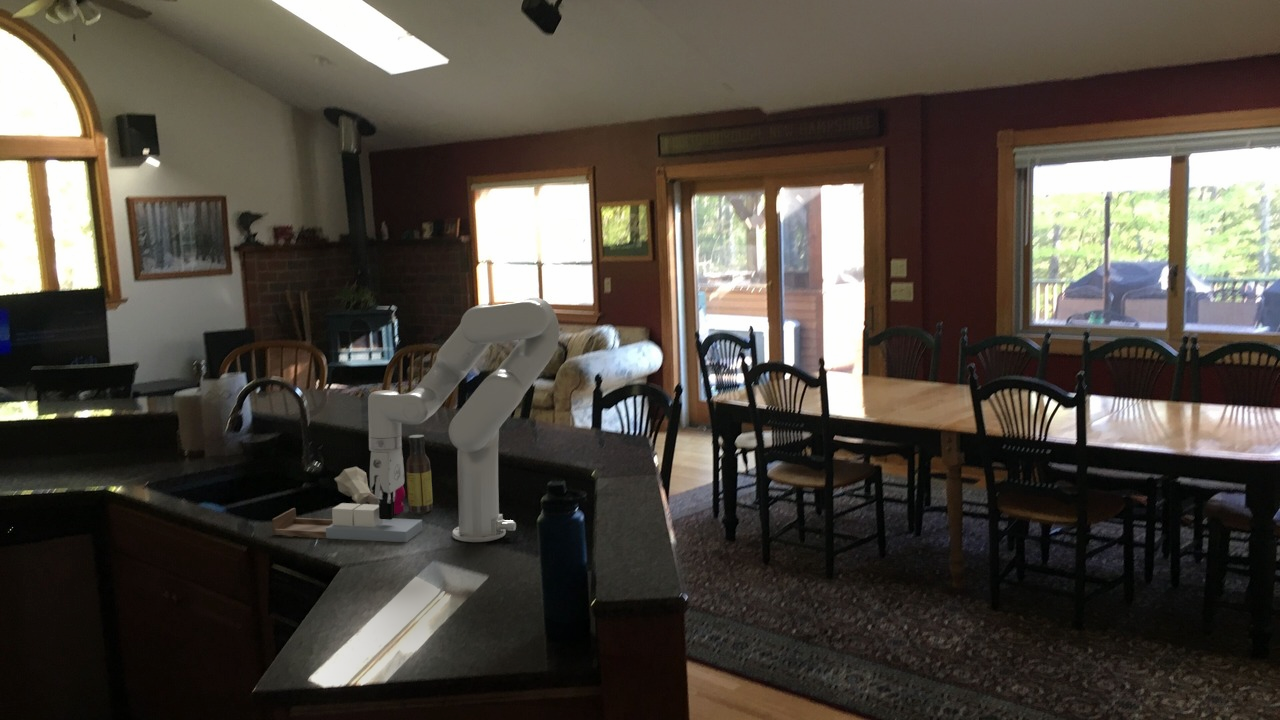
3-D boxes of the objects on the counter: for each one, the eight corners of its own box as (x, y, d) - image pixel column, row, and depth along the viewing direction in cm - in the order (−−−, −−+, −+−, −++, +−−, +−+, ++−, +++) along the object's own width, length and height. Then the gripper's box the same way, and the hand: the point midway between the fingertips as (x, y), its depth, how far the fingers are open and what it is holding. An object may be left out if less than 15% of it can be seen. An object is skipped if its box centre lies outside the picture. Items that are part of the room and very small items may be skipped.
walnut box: (345, 526, 242) (344, 510, 241) (326, 538, 232) (325, 521, 232) (294, 523, 244) (293, 507, 244) (272, 535, 234) (272, 519, 234)
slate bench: (422, 529, 239) (422, 519, 238) (406, 542, 229) (406, 531, 229) (345, 526, 242) (345, 516, 242) (326, 538, 232) (325, 527, 232)
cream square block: (361, 520, 238) (361, 503, 238) (352, 525, 233) (351, 509, 233) (342, 519, 239) (341, 503, 239) (332, 524, 234) (332, 508, 234)
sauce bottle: (430, 506, 260) (428, 432, 257) (434, 512, 254) (432, 437, 251) (406, 508, 257) (403, 434, 255) (409, 515, 252) (406, 438, 249)
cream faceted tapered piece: (369, 487, 276) (390, 513, 254) (339, 499, 273) (358, 526, 251) (359, 459, 274) (380, 483, 252) (329, 470, 270) (348, 495, 249)
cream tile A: (383, 521, 237) (382, 504, 237) (374, 526, 233) (373, 510, 232) (363, 520, 238) (363, 504, 238) (354, 526, 233) (353, 509, 233)
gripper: (387, 450, 224) (389, 528, 227) (412, 437, 239) (413, 510, 241) (356, 448, 225) (358, 526, 228) (383, 436, 240) (385, 509, 242)
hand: (386, 518), depth 234 cm, fingers closed
